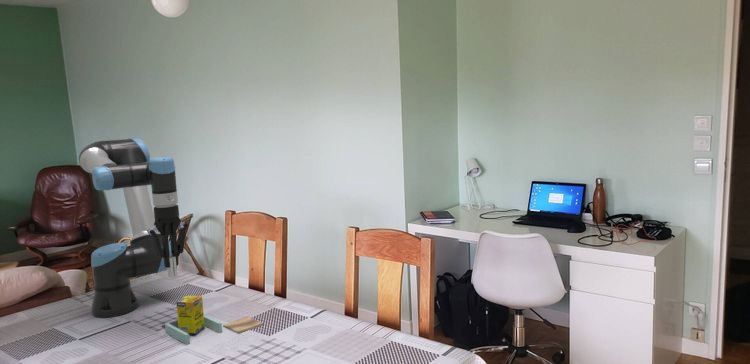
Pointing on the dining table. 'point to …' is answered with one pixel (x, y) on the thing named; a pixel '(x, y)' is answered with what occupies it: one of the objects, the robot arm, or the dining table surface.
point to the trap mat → (172, 324)
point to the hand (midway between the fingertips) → (172, 276)
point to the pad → (242, 324)
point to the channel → (184, 336)
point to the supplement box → (190, 314)
